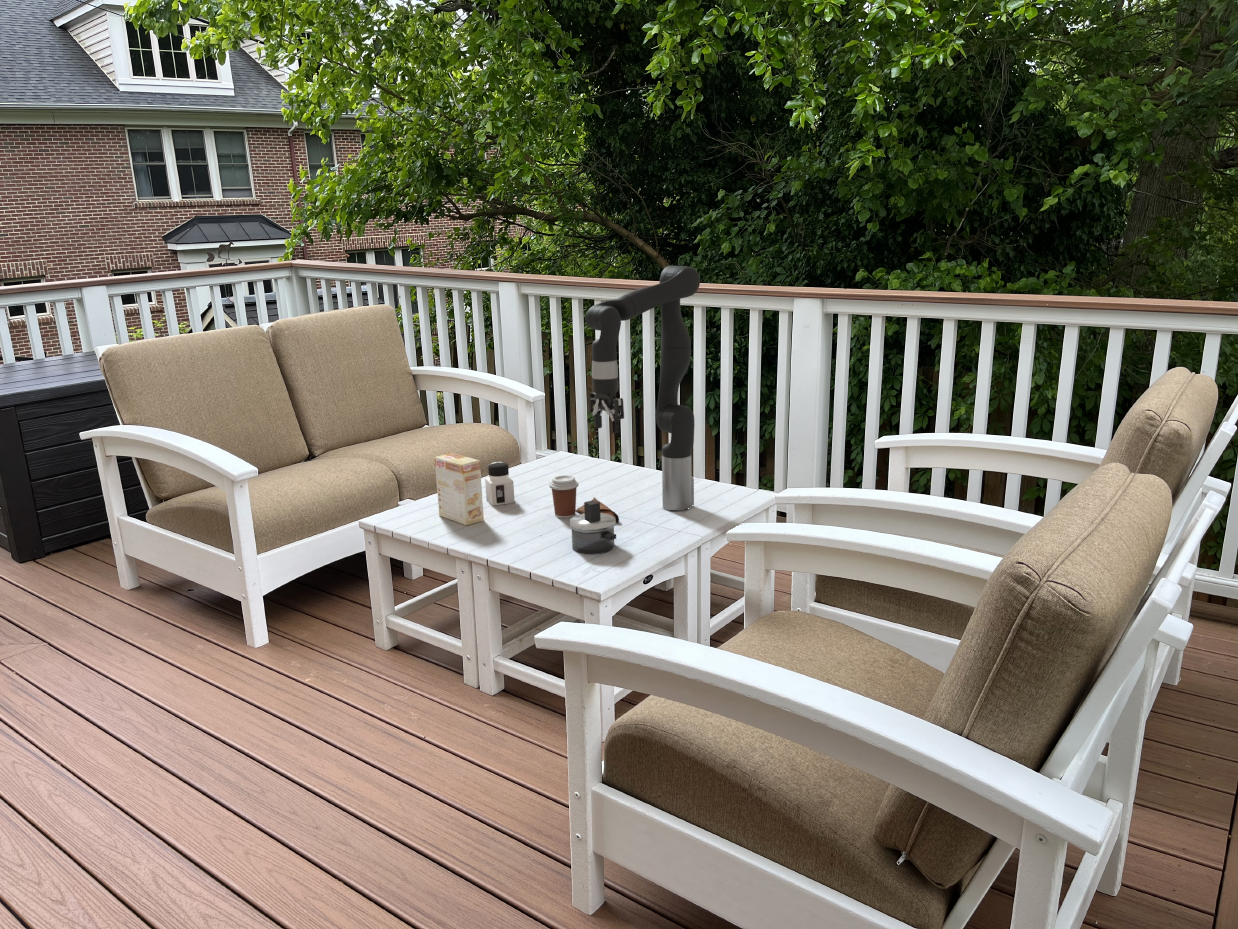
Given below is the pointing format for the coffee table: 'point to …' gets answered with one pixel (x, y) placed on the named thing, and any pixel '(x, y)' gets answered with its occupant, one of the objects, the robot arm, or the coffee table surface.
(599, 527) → the lid
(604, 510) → the sunglasses case
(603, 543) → the pot
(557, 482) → the coffee cup
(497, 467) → the container
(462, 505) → the coffeecake box
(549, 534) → the coffee table surface
